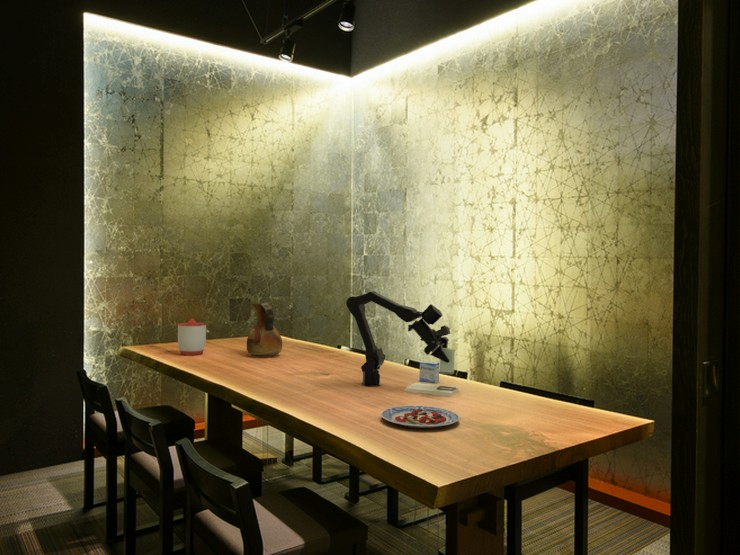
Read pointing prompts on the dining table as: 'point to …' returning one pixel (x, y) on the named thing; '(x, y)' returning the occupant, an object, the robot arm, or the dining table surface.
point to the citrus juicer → (192, 337)
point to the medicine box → (429, 372)
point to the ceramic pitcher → (264, 333)
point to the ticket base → (432, 389)
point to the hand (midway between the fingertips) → (450, 361)
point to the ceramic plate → (420, 416)
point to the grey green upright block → (448, 367)
